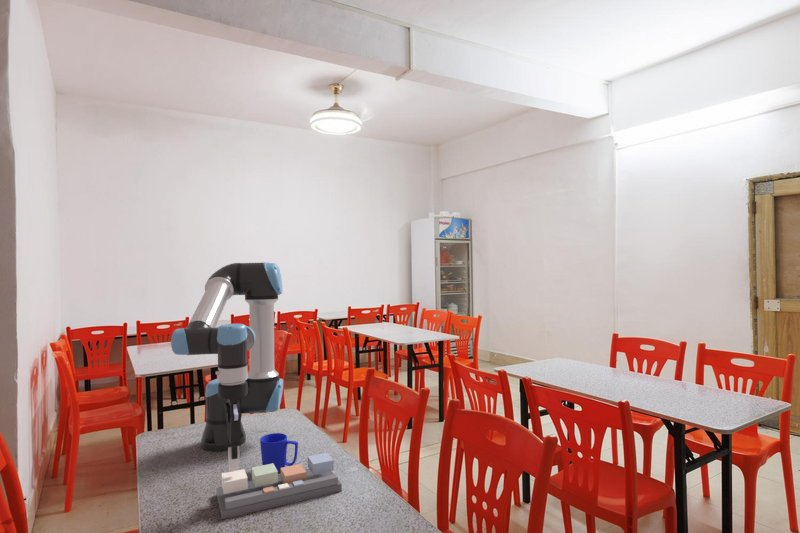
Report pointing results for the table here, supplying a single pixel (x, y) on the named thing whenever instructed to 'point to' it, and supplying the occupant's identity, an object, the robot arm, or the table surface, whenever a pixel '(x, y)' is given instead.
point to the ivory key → (234, 481)
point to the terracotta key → (293, 474)
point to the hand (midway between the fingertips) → (234, 469)
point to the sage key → (264, 475)
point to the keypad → (276, 494)
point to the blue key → (320, 463)
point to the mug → (276, 450)
